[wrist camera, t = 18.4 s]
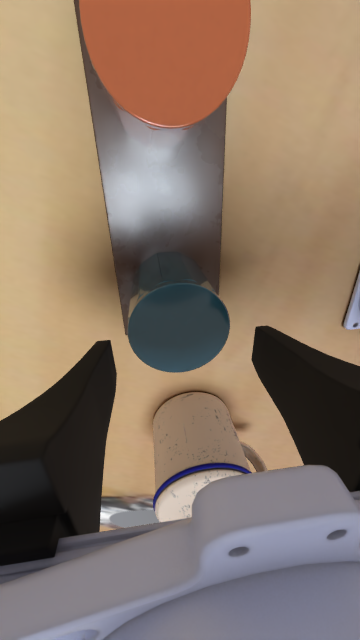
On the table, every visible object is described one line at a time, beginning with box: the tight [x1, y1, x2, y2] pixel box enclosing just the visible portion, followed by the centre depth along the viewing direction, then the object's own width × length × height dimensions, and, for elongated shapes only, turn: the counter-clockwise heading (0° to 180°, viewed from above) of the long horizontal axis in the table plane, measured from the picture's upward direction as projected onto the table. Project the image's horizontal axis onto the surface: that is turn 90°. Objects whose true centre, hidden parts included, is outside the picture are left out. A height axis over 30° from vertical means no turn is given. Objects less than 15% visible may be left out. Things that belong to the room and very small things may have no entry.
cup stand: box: [74, 0, 227, 335], centre depth 16 cm, size 8×20×6 cm, turn 2°
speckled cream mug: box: [153, 392, 267, 522], centre depth 25 cm, size 12×9×12 cm
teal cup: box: [127, 251, 230, 372], centre depth 17 cm, size 6×6×7 cm
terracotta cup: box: [79, 0, 251, 149], centre depth 12 cm, size 6×6×7 cm
